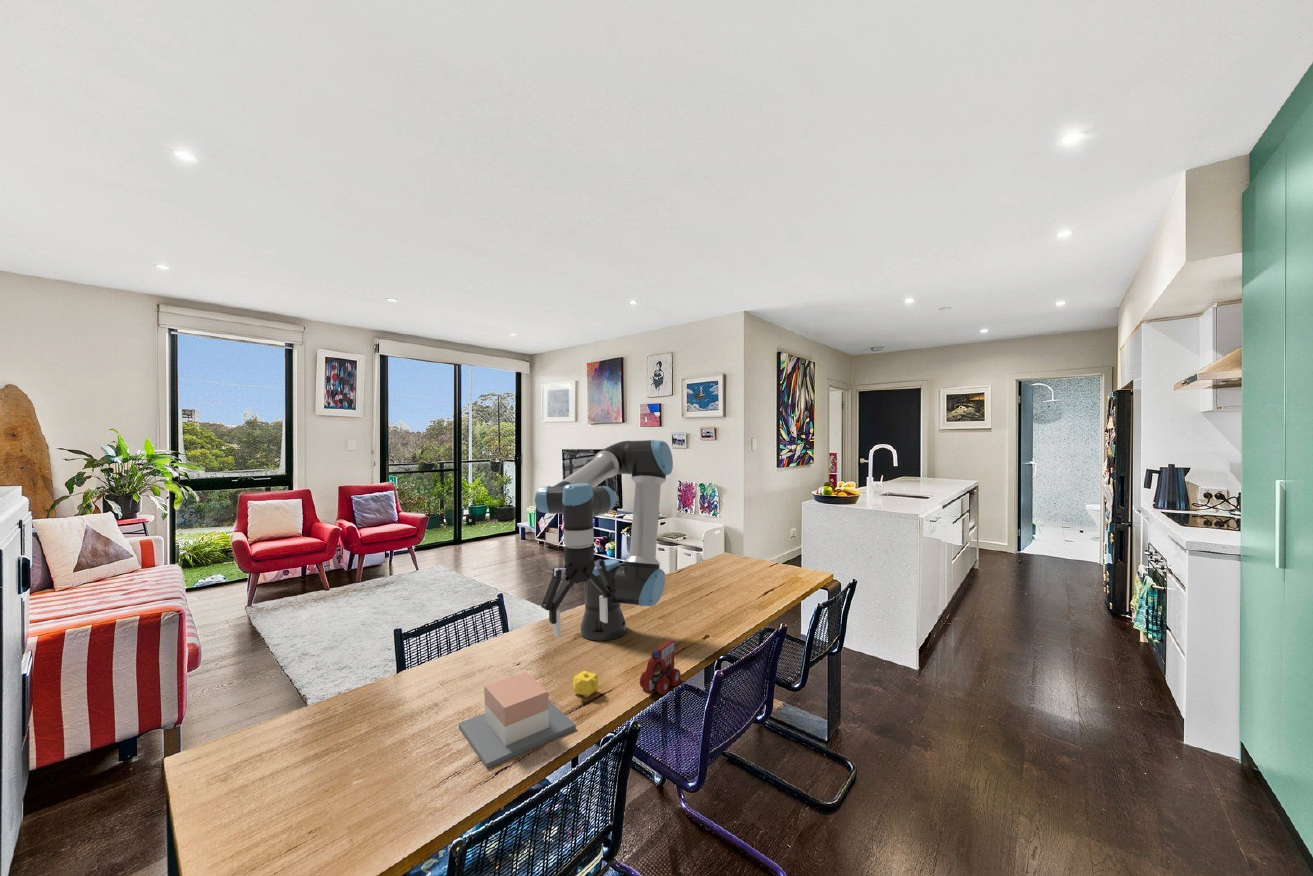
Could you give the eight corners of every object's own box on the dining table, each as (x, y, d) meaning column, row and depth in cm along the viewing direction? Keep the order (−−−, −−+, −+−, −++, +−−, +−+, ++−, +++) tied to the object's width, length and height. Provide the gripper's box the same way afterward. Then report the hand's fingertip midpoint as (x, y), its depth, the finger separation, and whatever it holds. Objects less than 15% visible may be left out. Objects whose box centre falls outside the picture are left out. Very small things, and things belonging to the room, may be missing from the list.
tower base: (540, 696, 125) (539, 661, 125) (575, 729, 111) (574, 689, 111) (458, 727, 112) (457, 688, 112) (486, 768, 98) (485, 723, 98)
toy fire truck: (635, 693, 126) (634, 652, 125) (663, 673, 136) (662, 635, 135) (657, 701, 121) (656, 659, 121) (684, 680, 132) (683, 641, 131)
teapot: (564, 695, 125) (563, 675, 125) (578, 685, 130) (578, 665, 130) (588, 703, 121) (588, 682, 121) (603, 692, 126) (602, 672, 126)
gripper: (612, 535, 136) (614, 612, 136) (526, 550, 121) (528, 637, 121) (627, 539, 130) (629, 620, 130) (539, 556, 115) (541, 647, 115)
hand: (581, 628), depth 126 cm, fingers open, 13 cm apart
